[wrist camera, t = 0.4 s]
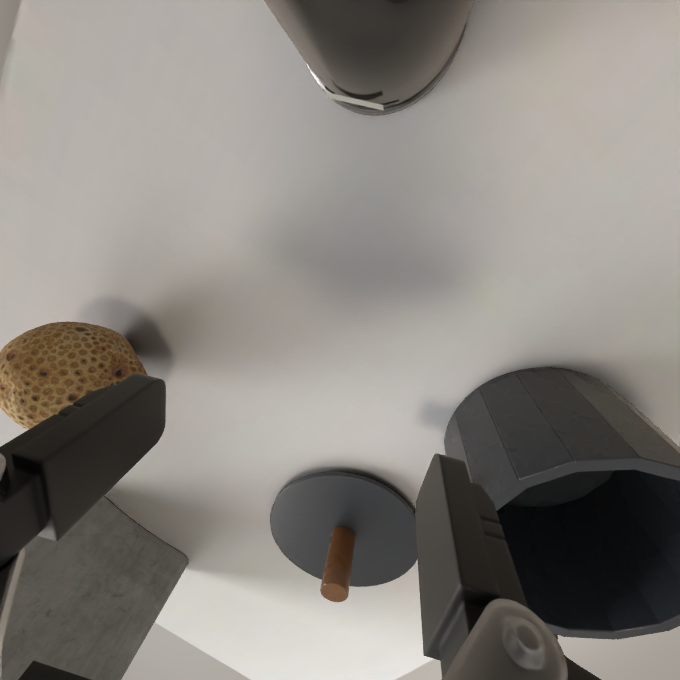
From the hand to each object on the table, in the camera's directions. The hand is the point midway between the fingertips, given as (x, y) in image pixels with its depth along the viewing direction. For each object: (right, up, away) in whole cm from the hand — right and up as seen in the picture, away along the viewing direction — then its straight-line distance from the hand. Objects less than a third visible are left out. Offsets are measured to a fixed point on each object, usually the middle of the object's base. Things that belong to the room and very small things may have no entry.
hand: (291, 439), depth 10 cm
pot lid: (+2, -16, +25) cm, 30 cm away
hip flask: (-23, -19, +31) cm, 43 cm away
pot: (+17, -6, +18) cm, 26 cm away
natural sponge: (-18, +2, +21) cm, 28 cm away
